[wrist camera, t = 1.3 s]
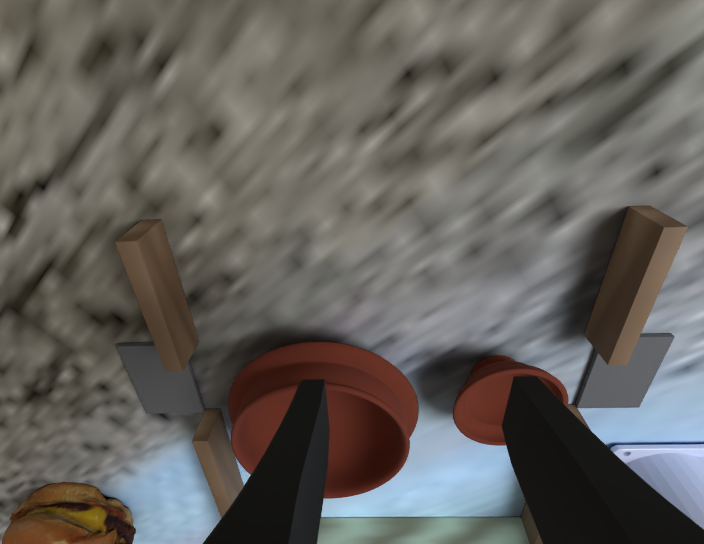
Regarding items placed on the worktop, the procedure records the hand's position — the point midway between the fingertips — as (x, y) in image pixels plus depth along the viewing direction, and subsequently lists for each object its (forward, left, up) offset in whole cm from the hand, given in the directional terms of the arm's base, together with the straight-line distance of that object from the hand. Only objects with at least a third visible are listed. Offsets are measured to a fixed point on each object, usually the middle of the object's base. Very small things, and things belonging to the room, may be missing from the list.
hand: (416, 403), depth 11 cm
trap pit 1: (+14, +10, -10) cm, 20 cm away
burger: (+26, +26, -11) cm, 38 cm away
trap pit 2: (-14, +10, -10) cm, 20 cm away
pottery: (0, +10, -11) cm, 15 cm away
